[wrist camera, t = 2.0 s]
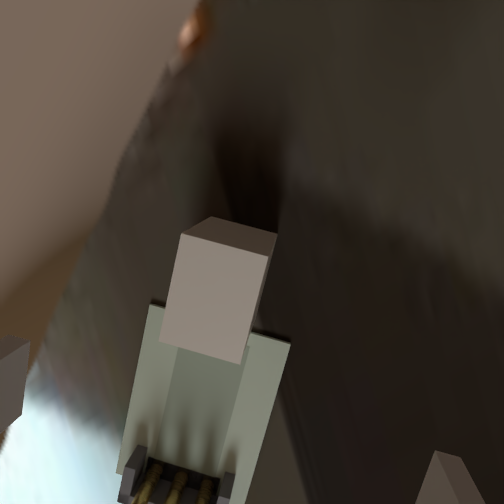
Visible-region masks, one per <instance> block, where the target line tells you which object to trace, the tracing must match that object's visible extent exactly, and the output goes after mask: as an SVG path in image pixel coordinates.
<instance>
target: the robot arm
mask: <svg viewBox="0 0 504 504" xmlns="http://www.w3.org/2000/svg"><path fill="white" fill-rule="evenodd" d="M29 348H30V340H26V339H23V338H19V337H15V336H12V335H7V336H5V337H3V338H2V339H0V433H1V432H3V431H4V430H5V429H6V428H7V427H8V426H9V425H10V424H12V423H13V422H14V421H15V420H16V419H17V418H18V417H19V416H21V415H22V407H23V399H24V390H25V382H26V374H27V366H28V357H29ZM415 504H485V503H484V501H483V499H482V497H481V495H480V493H479V491H478V489H477V488H476V486H475V484H474V482H473V480H472V478H471V476H470V475H469V473H468V471H467V469H466V467H465V465H464V463H463V462H462V460H461V458H460V457H457V456H453V455H450V454H446V453H442V452H439V451H435V452H434V455H433V457H432V460H431V463H430V465H429V468H428V471H427V474H426V476H425V479H424V482H423V484H422V487H421V490H420V492H419V495H418V498H417V501H416V503H415Z"/></svg>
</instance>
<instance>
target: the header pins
mask: <svg viewBox="0 0 504 504" xmlns="http://www.w3.org/2000/svg"><path fill="white" fill-rule="evenodd" d="M145 474H146V476H145V478H144V480H143V482H142V483H141V485H140V487H139V489H138V491H137V493H136V495H135V497H134V499H133V501H132V503H131V504H148V502H149V500H150V498H151V495H152V493H153V491H154V489H155V487H156V485H157V483H158V480H159V478H160V479H163V480H166V481H169V482H172V484H171V487H170V489H169V492H168V494H167V496H166V499H165V501H164V503H163V504H179V503H180V500H181V497H182V495H183V492H184V489H185V487H189V488H192V489H195V490H198V494H197V497H196V500H195V503H194V504H209V503H210V499H211V496H212V495H214V496H216V493H217V490H218V486H219V482H220V479H221V478H218V477H212V476H209V475H206V474H203V473H200V472H196V471H193V470H190V469H187V468H183V467H180V466H177V465H174V464H170V463H167V462H164V461H161V460H157V459H154V458H153V457H150V456H149V457H148V460H147V465H146V469H145Z"/></svg>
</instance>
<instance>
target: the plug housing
mask: <svg viewBox="0 0 504 504" xmlns="http://www.w3.org/2000/svg"><path fill="white" fill-rule="evenodd" d="M276 238H277V234H276V233H272V232H268V231H265V230H261V229H257V228H253V227H250V226H246V225H242V224H238V223H235V222H231V221H227V220H223V219H219V218H216V217H212V216H211V217H209V218H207V219H206V220H204V221H202V222H200V223H198V224H197V225H195V226H193V227H191V228H190V229H188V230H186V231H184V232H183V233H181V237H180V242H179V246H178V251H177V256H176V261H175V265H174V270H173V275H172V280H171V284H170V289H169V294H168V298H167V303H166V308H165V313H164V317H163V322H162V327H161V332H160V336H159V342H163V343H166V344H170V345H173V346H176V347H180V348H183V349H187V350H190V351H194V352H197V353H201V354H204V355H208V356H211V357H215V358H218V359H222V360H225V361H229V362H232V363H235V364H239V365H240V364H241V361H242V357H243V354H244V351H245V348H246V345H247V342H248V339H249V336H250V333H251V330H252V327H253V324H254V321H255V317H256V314H257V310H258V306H259V302H260V299H261V295H262V291H263V287H264V283H265V280H266V276H267V272H268V268H269V265H270V261H271V257H272V253H273V249H274V246H275V242H276Z"/></svg>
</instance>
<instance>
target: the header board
mask: <svg viewBox="0 0 504 504" xmlns="http://www.w3.org/2000/svg"><path fill="white" fill-rule="evenodd" d="M165 308H166V307H163V306H159V305H156V304H152V303H151V304H150V306H149V311H148V316H147V321H146V326H145V331H144V336H143V341H142V346H141V351H140V356H139V361H138V365H137V370H136V375H135V380H134V385H133V390H132V395H131V400H130V405H129V410H128V415H127V420H126V425H125V430H124V435H123V440H122V445H121V450H120V455H119V460H118V464H117V469H116V473H117V474H120V475H123V476H122V481H121V486H120V491H119V495H118V500H117V502H119V503H122V504H131V503H132V501H133V499H134V497H135V495H136V493H137V491H138V489H139V487H140V485H141V483H142V482H143V480H144V478H145V476H146V474H145V469H146V465H147V460H148V457H149V456H150V457H153V458H154V459H157V460H161V461H164V462H167V463H170V464H174V465H177V466H180V467H183V468H187V469H190V470H193V471H196V472H200V473H203V474H206V475H209V476H212V477H218V478H221V479H220V482H219V486H218V490H217V493H216V496H214V495H212V496H211V499H210V503H209V504H245V500H246V497H247V493H248V490H249V486H250V483H251V479H252V476H253V473H254V469H255V466H256V462H257V459H258V455H259V452H260V448H261V445H262V441H263V438H264V435H265V431H266V428H267V424H268V421H269V417H270V414H271V410H272V407H273V403H274V400H275V397H276V393H277V390H278V386H279V383H280V379H281V376H282V372H283V369H284V365H285V362H286V358H287V355H288V352H289V348H290V345H291V343H290V342H287V341H283V340H279V339H276V338H272V337H269V336H265V335H262V334H258V333H255V332H251V333H250V336H249V339H248V342H247V345H246V348H245V351H244V354H243V357H242V361H241V364H240V365H239V364H235V363H232V362H229V361H225V360H222V359H218V358H215V357H211V356H208V355H204V354H201V353H197V352H194V351H190V350H187V349H183V348H180V347H176V346H173V345H170V344H166V343H163V342H159V336H160V332H161V327H162V322H163V317H164V313H165ZM171 484H172V482H169V481H166V480H163V479H160V478H159V480H158V483H157V485H156V487H155V489H154V491H153V493H152V495H151V498H150V500H149V502H148V504H163V503H164V501H165V499H166V496H167V494H168V492H169V489H170V487H171ZM197 494H198V490H195V489H192V488H189V487H185V489H184V492H183V495H182V497H181V500H180V503H179V504H194V503H195V500H196V497H197Z"/></svg>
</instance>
